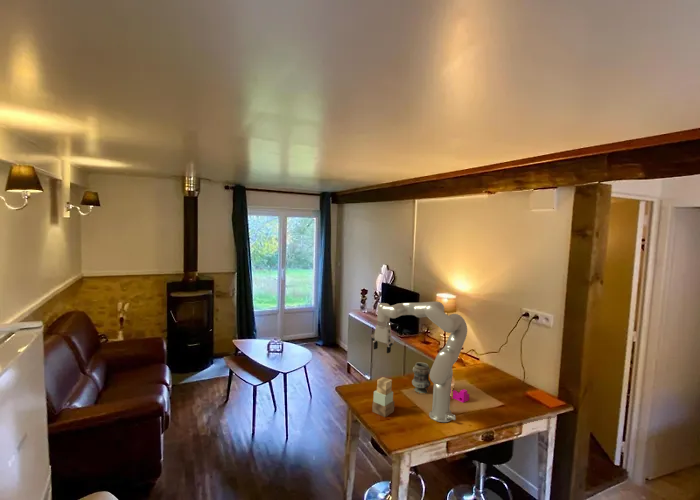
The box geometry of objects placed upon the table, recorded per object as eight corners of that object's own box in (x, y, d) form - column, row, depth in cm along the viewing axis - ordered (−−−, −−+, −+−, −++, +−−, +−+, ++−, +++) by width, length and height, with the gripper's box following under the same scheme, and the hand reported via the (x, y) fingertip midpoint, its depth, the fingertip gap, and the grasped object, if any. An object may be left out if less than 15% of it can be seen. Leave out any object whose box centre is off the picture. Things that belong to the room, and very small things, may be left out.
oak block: (391, 391, 215) (391, 379, 214) (385, 395, 210) (386, 383, 210) (382, 388, 219) (383, 377, 218) (376, 391, 214) (377, 380, 213)
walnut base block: (393, 411, 216) (394, 401, 215) (385, 417, 209) (385, 407, 209) (381, 406, 222) (381, 396, 221) (372, 411, 215) (372, 401, 214)
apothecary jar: (424, 386, 252) (425, 360, 251) (433, 394, 241) (435, 367, 240) (408, 388, 248) (409, 361, 247) (416, 396, 237) (418, 368, 236)
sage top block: (392, 401, 215) (393, 391, 215) (384, 406, 209) (385, 396, 209) (381, 397, 221) (381, 387, 220) (373, 401, 215) (373, 391, 214)
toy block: (468, 401, 233) (469, 389, 233) (463, 404, 229) (464, 392, 229) (448, 392, 244) (449, 381, 244) (442, 395, 240) (443, 383, 240)
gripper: (398, 325, 226) (397, 352, 227) (375, 319, 237) (374, 346, 238) (391, 327, 220) (390, 355, 221) (368, 321, 231) (367, 348, 232)
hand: (381, 350), depth 230 cm, fingers open, 9 cm apart
